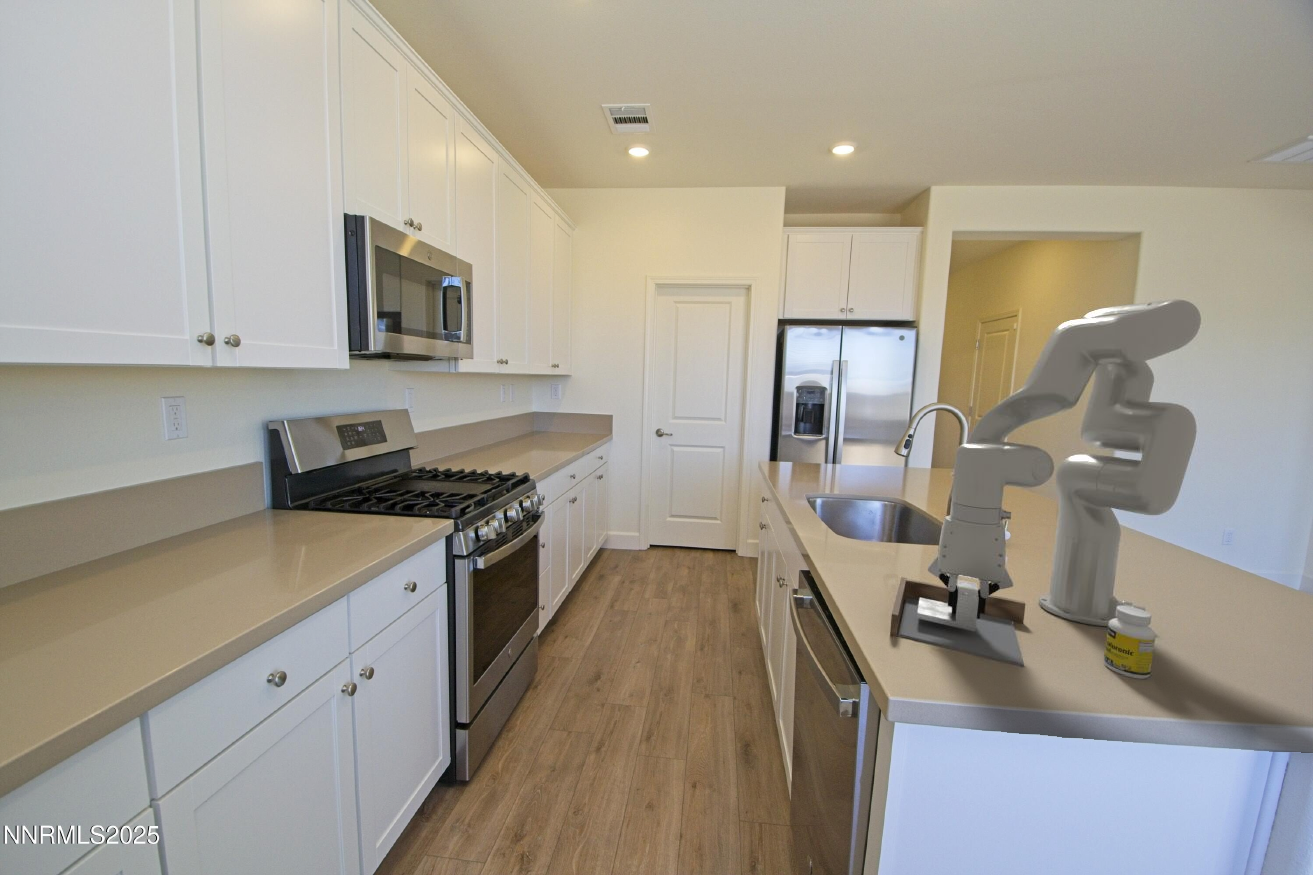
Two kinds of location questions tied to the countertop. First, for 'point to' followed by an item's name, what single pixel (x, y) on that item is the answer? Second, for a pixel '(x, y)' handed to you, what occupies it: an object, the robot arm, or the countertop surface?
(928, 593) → the walnut corner walls
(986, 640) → the slate mat
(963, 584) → the aluminium bracket
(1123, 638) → the supplement bottle
